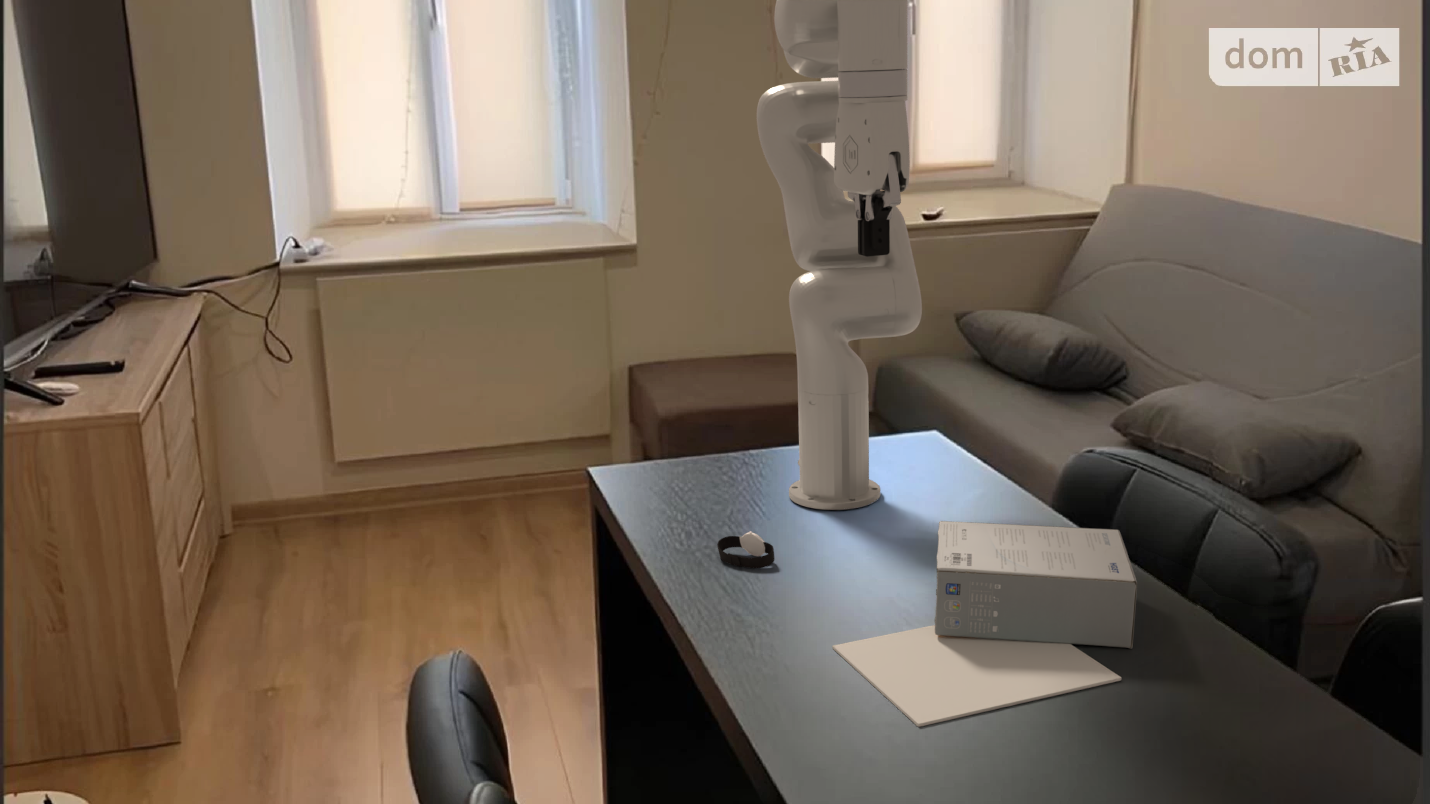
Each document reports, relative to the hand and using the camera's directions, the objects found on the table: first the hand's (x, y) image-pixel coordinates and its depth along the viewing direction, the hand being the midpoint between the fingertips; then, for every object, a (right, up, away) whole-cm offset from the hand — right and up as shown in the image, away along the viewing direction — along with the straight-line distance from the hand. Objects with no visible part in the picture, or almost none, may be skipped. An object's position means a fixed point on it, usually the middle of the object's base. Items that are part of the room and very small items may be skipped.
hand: (873, 254), depth 148 cm
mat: (+8, -43, -18) cm, 47 cm away
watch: (-14, -36, +11) cm, 41 cm away
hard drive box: (+6, -35, -6) cm, 36 cm away
